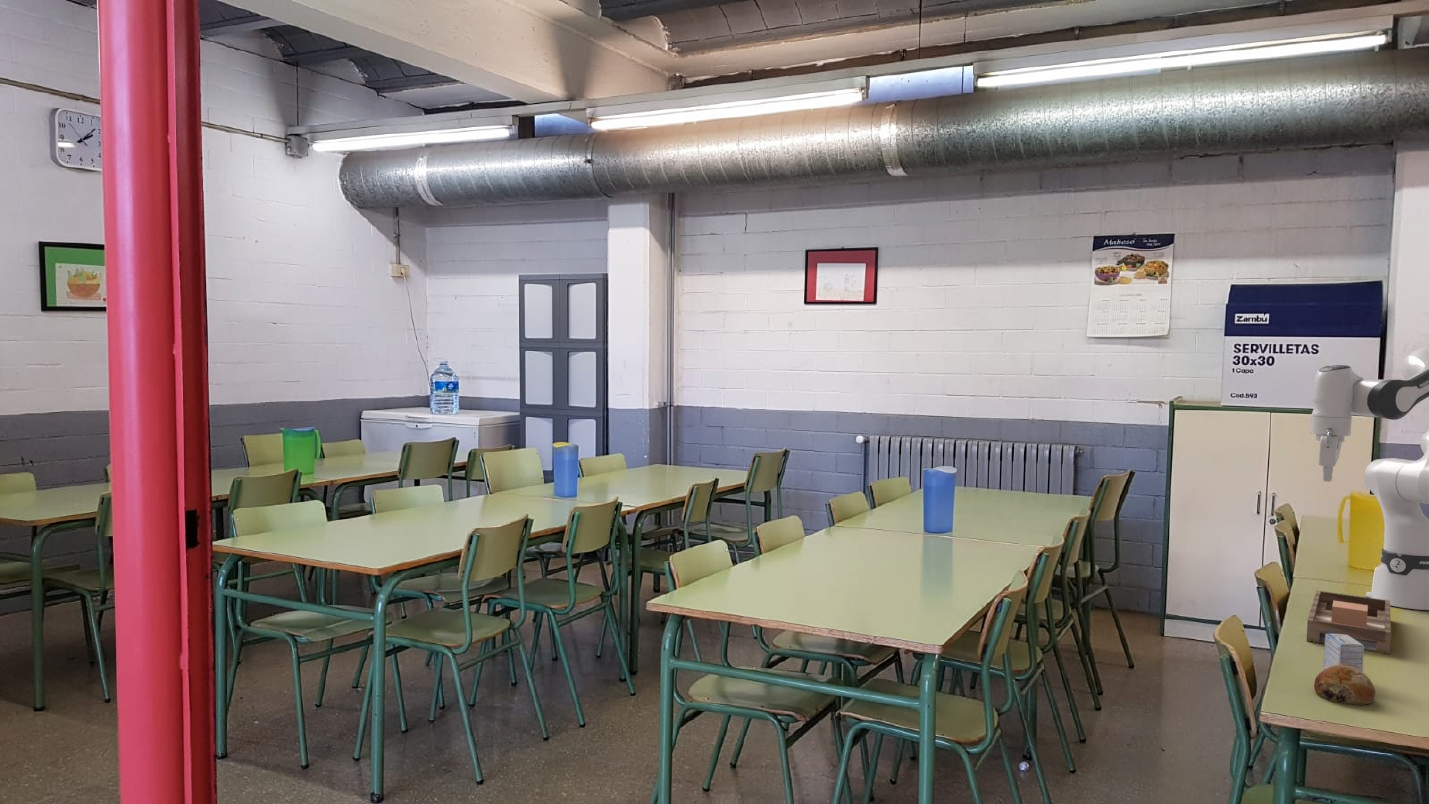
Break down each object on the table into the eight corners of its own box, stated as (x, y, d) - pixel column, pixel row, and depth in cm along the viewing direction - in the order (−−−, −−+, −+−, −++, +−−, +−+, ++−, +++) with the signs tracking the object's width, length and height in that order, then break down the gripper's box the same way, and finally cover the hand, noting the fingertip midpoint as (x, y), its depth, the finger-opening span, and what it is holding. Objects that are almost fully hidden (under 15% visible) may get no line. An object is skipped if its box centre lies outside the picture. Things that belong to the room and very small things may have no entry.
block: (1332, 618, 242) (1333, 600, 241) (1366, 623, 238) (1367, 605, 238) (1331, 625, 236) (1332, 606, 236) (1366, 630, 232) (1367, 611, 232)
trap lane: (1315, 609, 260) (1316, 590, 260) (1388, 620, 252) (1389, 600, 251) (1306, 641, 231) (1307, 619, 230) (1389, 654, 222) (1390, 632, 221)
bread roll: (1378, 724, 189) (1396, 686, 189) (1336, 703, 187) (1354, 665, 187) (1337, 705, 198) (1354, 669, 199) (1297, 685, 197) (1314, 649, 197)
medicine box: (1362, 688, 199) (1365, 645, 198) (1338, 685, 199) (1340, 643, 199) (1345, 675, 206) (1348, 634, 206) (1322, 673, 207) (1324, 632, 207)
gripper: (1343, 430, 246) (1340, 486, 247) (1346, 426, 263) (1343, 478, 264) (1314, 429, 249) (1310, 483, 250) (1318, 425, 266) (1315, 476, 267)
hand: (1327, 481), depth 257 cm, fingers closed
